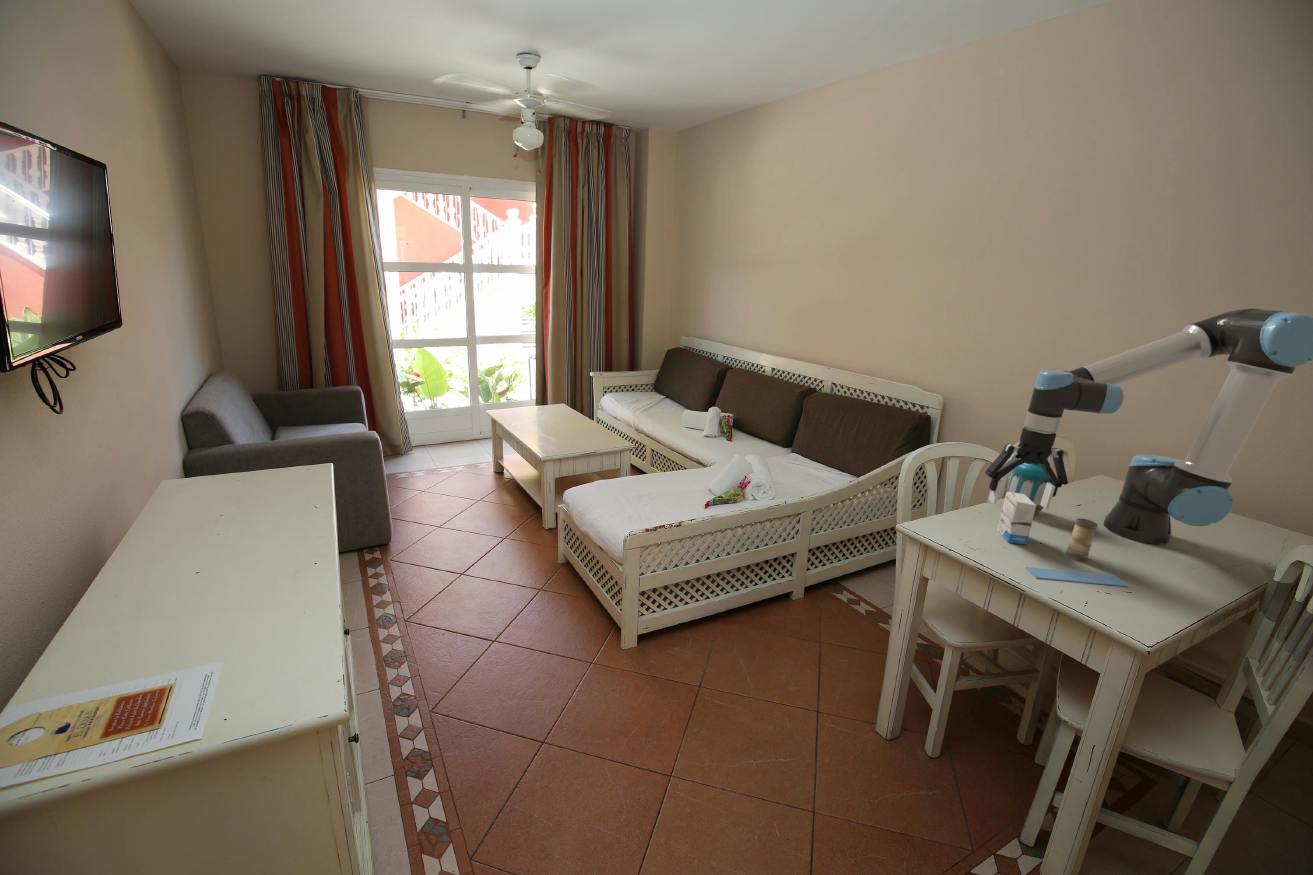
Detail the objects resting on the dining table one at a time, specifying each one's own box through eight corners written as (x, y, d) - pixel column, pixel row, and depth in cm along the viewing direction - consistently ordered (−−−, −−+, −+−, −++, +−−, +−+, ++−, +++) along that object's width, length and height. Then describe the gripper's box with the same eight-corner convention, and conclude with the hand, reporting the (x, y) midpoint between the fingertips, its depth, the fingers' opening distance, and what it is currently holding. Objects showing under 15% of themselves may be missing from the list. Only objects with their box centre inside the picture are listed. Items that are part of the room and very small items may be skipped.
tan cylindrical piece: (1079, 553, 153) (1090, 519, 150) (1090, 562, 149) (1102, 527, 146) (1061, 552, 153) (1072, 517, 150) (1072, 560, 149) (1082, 525, 146)
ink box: (1027, 545, 156) (1038, 505, 152) (1007, 542, 157) (1017, 502, 153) (1014, 531, 164) (1025, 493, 160) (996, 529, 165) (1005, 490, 161)
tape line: (1113, 575, 143) (1114, 574, 142) (1127, 586, 138) (1128, 585, 138) (1025, 567, 144) (1025, 566, 144) (1036, 578, 139) (1036, 577, 139)
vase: (1005, 501, 185) (1019, 444, 180) (1044, 510, 180) (1060, 452, 174) (1001, 511, 177) (1016, 452, 171) (1041, 521, 171) (1059, 460, 166)
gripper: (1080, 430, 154) (1058, 503, 160) (984, 421, 155) (965, 494, 162) (1099, 438, 147) (1074, 514, 153) (997, 429, 148) (977, 505, 154)
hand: (1018, 504), depth 157 cm, fingers open, 13 cm apart
